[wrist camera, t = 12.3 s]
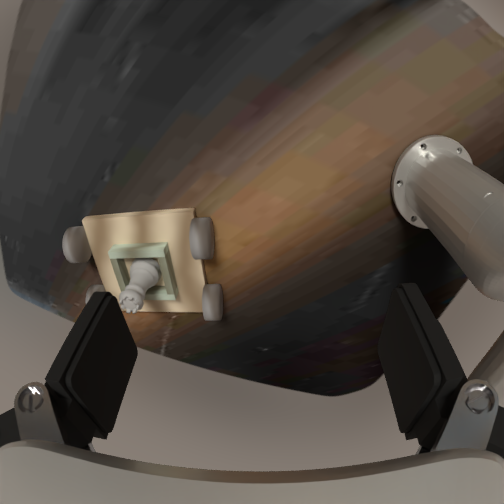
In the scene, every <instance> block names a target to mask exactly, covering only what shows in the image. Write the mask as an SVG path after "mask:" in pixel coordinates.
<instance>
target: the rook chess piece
mask: <svg viewBox="0 0 504 504" xmlns="http://www.w3.org/2000/svg"><path fill="white" fill-rule="evenodd" d="M161 274H162V273H161V269H160V266H159V264H158V263H157V262H156V261H155V260H154V259H152V258H150V257H149V258H136V259H135V260H134V261H133V262H132V265H131V266H130V278H131V279H130V282H129V285H127V286H126V287H125V291H122V292H121V293H120V294H119V300H120V301H119V304H121V309H122V310H124V308H125V309H127V311H126V313H129V314H130V312H131V311H132V313H133V314H134V313H136V312H137V311H138V310H141V309H142V307H143V304H144V302H143V300H144V299H145V293H146V291H147V290H148V288H151V287H152V286H154V285H156V283H157V282H158V281H159V279H160V278H161Z"/></svg>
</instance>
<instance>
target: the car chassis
mask: <svg viewBox="0 0 504 504" xmlns="http://www.w3.org/2000/svg"><path fill="white" fill-rule="evenodd" d="M82 223H83V226H77V227H70V228H68V229H67V230H66V232H65V234H64V236H63V252H64V255H65V257H66V259H67V260H68V261H69V262H71V263H85V262H87V261H88V260H89V259H90V257H91V255H92V254H93V257H94V260H95V263H96V266H97V268H98V271H99V274H100V277H101V279H102V282H103V285H91V286H90V287H89V289H88V291H87V294H86V304H87V302H88V301H89V299H90V297H91V296H92V294H93V293H94V292H96V291H100V292H111V293H112V295H113V296H115V297H116V298H117V301H118V303H119V301H120V300H119V294H120V293H121V292H122V291H125V287H126V286H127V285H129V282H130V279H131V278H130V266H131V265H132V262H133V261H134V260H135V259H136V258H149V257H150V258H152V259H154V260H155V261H156V262H157V263H158V264H159V266H160V269H161V273H162V274H161V278H160V279H159V281H158V282H157V283H156V285H154V286H152V287H151V288H148V290H147V291H146V293H145V299H144V300H143V302H144V304H143V307H142V309H141V310H138V311H146V312H203V316H204V319H205V320H221V319H222V315H223V293H222V287H221V285H220V284H207V280H206V274H205V268H204V262H203V259H212V258H213V255H214V228H213V223H212V219H211V218H210V217H206V218H196V212H195V208H182V209H168V210H154V211H141V212H129V213H117V214H106V215H96V216H86V217H85V218H84V219H83V220H82ZM119 306H120V308H121V304H119ZM121 311H127V309H125V308H124V310H122V309H121Z"/></svg>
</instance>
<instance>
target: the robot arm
mask: <svg viewBox="0 0 504 504" xmlns="http://www.w3.org/2000/svg"><path fill="white" fill-rule="evenodd" d="M421 144H422V146H421ZM420 146H421V147H420ZM397 181H399V182H398V183H397ZM391 191H392V197H393V201H394V203H395V206H396V208H397V209H398V211H399V212H400V214H401V215H402V216H403V217H404V218H405V220H407V221H408V222H409V223H410V224H412V225H414V226H417V227H420V228H424V229H430V231H431V232H432V233H433V234H434V235H435V237H436V238H437V239H438V240H439V241H440V243H441V244H442V245H443V246H444V247H445V249H446V250H447V251H448V252H449V254H450V255H451V256H452V258H453V259H454V260H455V261H456V263H457V264H458V265H459V267H460V268H461V269H462V270H463V272H464V273H465V274H466V276H467V277H468V278H469V280H470V281H471V282H472V284H473V285H474V286H475V287H476V288H477V290H478V291H480V292H481V293H482V294H483V295H485V296H486V297H488V298H490V299H493V300H497V301H504V184H502V183H501V182H499V181H498V180H496V179H495V178H493V177H492V176H490V175H489V174H487V173H486V172H484V171H482V170H481V169H479V168H478V167H476V166H474V165H473V163H472V160H471V158H470V156H469V154H468V152H467V151H466V150H465V148H464V147H463V146H462V145H460V144H459V143H458V142H457V141H455V140H453V139H451V138H448V137H446V136H441V135H430V136H426V137H423V138H420V139H418V140H417V141H415V142H413V143H412V144H411V145H410V146H409V147H407V148H406V149H405V151H404V152H403V153H402V155H401V156H400V157H399V159H398V161H397V163H396V165H395V168H394V171H393V175H392V182H391ZM137 354H138V353H137V347H136V345H135V342H134V340H133V338H132V335H131V333H130V331H129V328H128V326H127V323H126V321H125V318H124V316H123V313H122V311H121V308H120V306H119V303H118V301H117V298H116V297H115V296H113V295H112V293H111V292H100V291H96V292H94V293H93V294H92V296H91V297H90V299H89V301H88V302H87V304H86V305H85V307H84V309H83V310H82V312H81V314H80V316H79V317H78V319H77V321H76V322H75V324H74V326H73V328H72V329H71V331H70V333H69V335H68V336H67V338H66V340H65V342H64V344H63V345H62V347H61V349H60V351H59V353H58V355H57V356H56V358H55V360H54V362H53V364H52V366H51V368H50V370H49V372H48V374H47V376H46V378H45V380H46V383H45V385H43V384H42V383H39V382H31V383H28V384H26V385H25V386H23V387H22V388H21V389H20V390H19V391H18V393H17V395H16V397H15V400H14V408H12V409H11V410H9V411H7V412H5V413H3V414H1V415H0V504H504V331H503V332H502V333H501V335H500V336H499V337H498V339H497V340H496V342H495V343H494V344H493V346H492V347H491V348H490V350H489V351H488V352H487V353H486V355H485V356H484V357H483V359H482V360H481V362H480V363H479V364H478V365H477V366H476V368H475V369H474V370H473V372H472V373H471V374H470V376H469V377H468V379H467V378H466V376H465V373H464V371H463V369H462V367H461V365H460V362H459V360H458V358H457V356H456V354H455V352H454V350H453V348H452V346H451V344H450V342H449V340H448V338H447V336H446V334H445V332H444V330H443V328H442V326H441V324H440V323H439V321H438V320H436V319H435V317H434V315H433V313H432V311H431V310H430V308H429V306H428V304H427V302H426V300H425V299H424V297H423V295H422V293H421V291H420V290H419V288H418V286H417V285H416V283H405V284H399V285H398V286H397V288H396V289H393V291H392V294H391V298H390V302H389V306H388V310H387V314H386V317H385V321H384V325H383V328H382V332H381V335H380V339H379V342H378V354H379V358H380V361H381V364H382V368H383V371H384V374H385V378H386V381H387V385H388V388H389V392H390V396H391V399H392V403H393V407H394V411H395V414H396V418H397V422H398V426H399V430H400V432H401V433H405V437H406V440H409V439H414V438H418V442H419V445H420V447H419V449H418V451H417V452H416V454H415V455H412V456H407V457H402V458H397V459H391V460H386V461H380V462H373V463H367V464H360V465H353V466H345V467H337V468H326V469H315V470H300V471H276V472H275V471H269V472H251V471H250V472H249V471H220V470H206V469H194V468H185V467H175V466H167V465H160V464H153V463H147V462H141V461H136V460H130V459H125V458H120V457H115V456H111V455H106V454H101V453H97V452H95V449H94V447H93V445H92V438H93V437H97V438H101V439H107V436H108V433H110V432H112V430H113V428H114V424H115V421H116V418H117V415H118V412H119V409H120V406H121V403H122V400H123V397H124V394H125V391H126V387H127V385H128V381H129V379H130V376H131V373H132V370H133V367H134V364H135V361H136V358H137Z"/></svg>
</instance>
